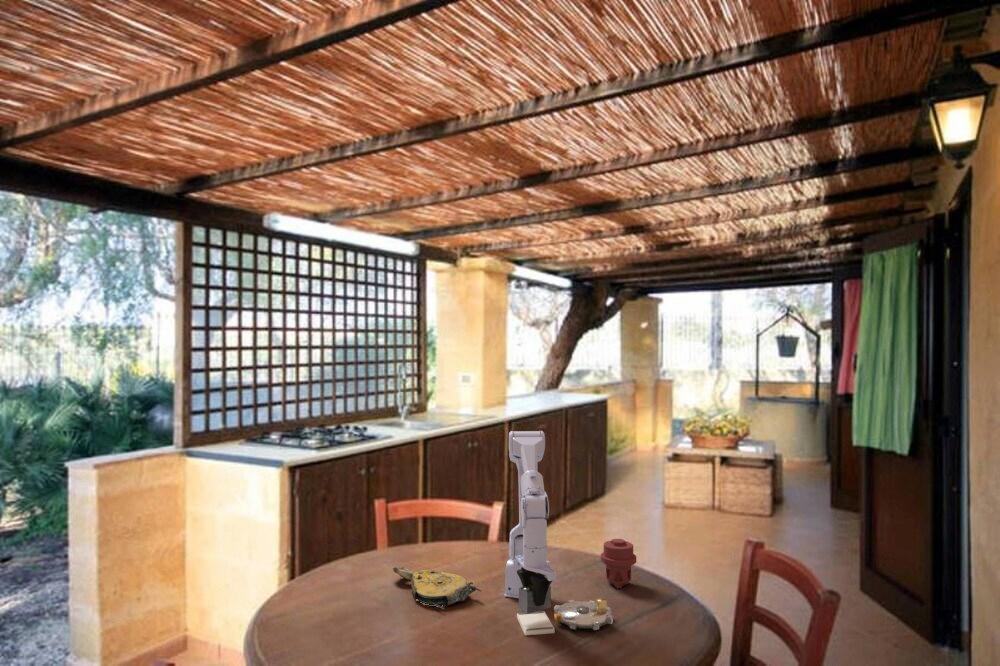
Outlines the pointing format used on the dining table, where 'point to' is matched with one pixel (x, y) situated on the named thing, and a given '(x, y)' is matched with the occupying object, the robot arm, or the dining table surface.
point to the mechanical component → (618, 561)
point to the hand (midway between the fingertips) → (535, 602)
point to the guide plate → (535, 623)
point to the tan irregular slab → (437, 586)
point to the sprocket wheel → (584, 614)
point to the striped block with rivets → (532, 600)
